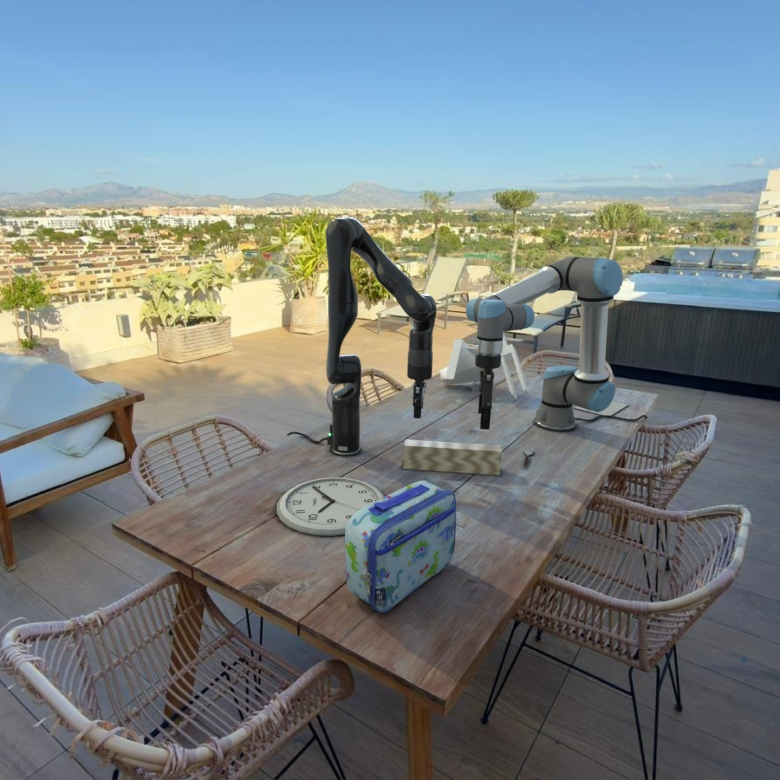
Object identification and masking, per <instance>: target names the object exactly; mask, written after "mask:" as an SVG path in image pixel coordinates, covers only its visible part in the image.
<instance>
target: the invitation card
mask: <svg viewBox="0 0 780 780" xmlns="http://www.w3.org/2000/svg"><path fill="white" fill-rule="evenodd" d="M628 406H629V404H627V403H623V402H618V401H614V400H612V402H611V403H610V405H609V406H608V407H607V408H606V409H605V410H603V411H601V412H595V411H589V410H587V409H584V408H581V407H578V406H574V407H573V409H575V410H581V411H584V412H587V413H593V414H596V415H599V416H600V415H609V416H614V414H616V413H617V412H619V411H621V410H623V409H624V408H626V407H628Z"/></svg>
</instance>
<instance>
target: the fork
mask: <svg viewBox="0 0 780 780" xmlns="http://www.w3.org/2000/svg"><path fill="white" fill-rule="evenodd" d="M533 451H534V446H530V445H528V444H526V446H525V450H524V454H525V455H526V456H525V458H524V466H523V467H524V468H526V466H527V464H528V462H529V456H531V455H533V453H534V452H533Z"/></svg>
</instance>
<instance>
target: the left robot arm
mask: <svg viewBox="0 0 780 780" xmlns="http://www.w3.org/2000/svg"><path fill="white" fill-rule="evenodd" d="M325 244H326V245H325V247H326V256H327V257H326V258H327V280H328V281H327V282H328V283H327V285H328V286H327V287H328V288H327V289H328V291H327V292H328V293H327V323H328V324H327V328H328V331H327V332H328V333H327V334H328V335H327V350H326V360H325V361H326V363H325V366H326V367H325V372H326V380H327V381H328V383H329V384H330V385H344V386H343V387H342V388H340V389H339V390H337V391H335V392H333V393H332V395H331V423H330V424H329V433H328V436H326V437H323V438H321V439H320V440H315V439H312V438H311V437H310V436H309V435H307V434H305V433H303V432H299V431H290V432H288V433H287V434H286V436H288V437H289V436H291V435H299V436H302V437H305V438H307V440H308V441H310V442H312V443H315V444H321V443H322V442H324V441H326V444H327V445H328V446H329V451H331V452H332V453H333V454H335V455H337V456H343V457H349V456H354V455H357V454H358V453H360V451H361V438H360V437H361V432H360V431H361V422H360V421H361V412H360V410H361V408H360V407H361V405H360V404H361V403H360V401H361V400H360V399H361V392H362V390H361V389H362V387H361V386H362V372H363V371H362V362H361V359H360V356H358V355H357V354H342V355H341V349H342V346H343V343H344V341H345V339H346V337H347V335H348V334H349V332H350V331H351V329H352V328H353V326H354V325H355V322H356V321H357V318H358V313H359V294H358V290H357V286H356V283H355V279H354V278H353V274H352V269H351V267H352V266H351V261H352V259H351V258H352V255H351V254H352V252H354V253H355V254H357V256H359V257H360V258H361V259H362V260H363V261H364V262H365V263H366V264H367V266H368V267H369V268H370V270H371V272H372V274H373V276H374V277H375V279H376V280H377V282H378V283H379V284H380V286H381V287H383V288H384V289H385V290H386V291H387V292H388V293H389V294H390V295H391V297H393V298H394V299H395V300H396V302H397V303H398V305H399V306H400V308H401V309H402V310H403V312H404V313H405V314H406V316H408V317H409V318H410V319H412V320H413V322H412V327H411V328H410V330H409V333H408V349H407V350H408V351H407V368H406V369H407V370H406V376H407V378H408V379H410V380H414V381H413V383H412V385H411V389H412V396H411V397H412V407H413V418H414V419H421V418H422V410H423V408H424V400H425V394H426V388H427V382H426V381H427V380H430V379H432V377H433V361H434V360H433V359H434V355H433V354H434V353H433V337H434V336H433V334H434V328H435V324H436V323H435V322H436V318H437V302H436V300H435V299H434V296H432V295H430V294H427V293H423V294H420V293H419V292H418V291H417V290H416V289H415V287H414V282H413V281H412V280H411V278H409V276H407V275H406V273H404V272H403V271H402V270H401V269H400V268H399V267H398V266H397V265H396V264H395V263H394V262H393V261H392V260H391V259H390V258H389V257H388V256H387V255H386V254H385V252H384V251H383V250H382V249H381V247H379V245H378V244H377V242H375V241H374V239H373V238H372V236H371V235H370V234H369V232H368V231H367V229H366V228H365V226H363V224H362V223H361V222H360V221H359V220H358V219H356V218H355V217H337V218H334V219H332V220H331V221H330V222H329V223H328V224H327V227H326V230H325Z"/></svg>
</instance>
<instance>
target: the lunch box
mask: <svg viewBox="0 0 780 780" xmlns="http://www.w3.org/2000/svg"><path fill="white" fill-rule="evenodd" d="M456 531H457V499H456V495H455V493H454V492H453V490H450V489H442V488H440V487H439V486H437V485H435V484H433V483H432V482H430V481H428V480H418V481H416V482H413V483H410V484H409V485H406V486H405V487H402V488H400V489H398V490H396V491H394V492H392V493H390V494H388V495H385V497H384V498H382V499H380V500H378V501H376V502H374V503H372V504H370V505H368V506H366V507H364V508H362V509H360V510H358V511H357V512H355V513H354V514H353V515H352V517H351V518H350V520H349V522H348V524H347V527H346V531H345V534H344V552H345V577H346V578H345V580H346V586H347V589H348V592H349V593H350V594H352V595H354V596H356V597H357V598H359V599H361V600H363V602H365V603H367V604H368V605H370V607H371V608H372V609H373V610H375V611H376V612H378V613H380V614H382V613H383V614H385V613H387V612H389V611H391V609H393V608H394V607H395V606H396V605H397V604H400V602H401V601H402V600H404V599H406V597H409V596H410V595H411V594H412V593H414V592H415V591H416V590H417V589H418V588H420V587H421V586H422V585H423V584H424V583H425V582H427V581H428V580H430V579H432V578H433V577H434V576H436V575H437V574H439V573H441V572H442V571H443V570H445V568H446V567H447V566H448V564H449V563H450V561H451V560H452V557H453V554H454V551H455V548H456V547H455V546H456Z"/></svg>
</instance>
